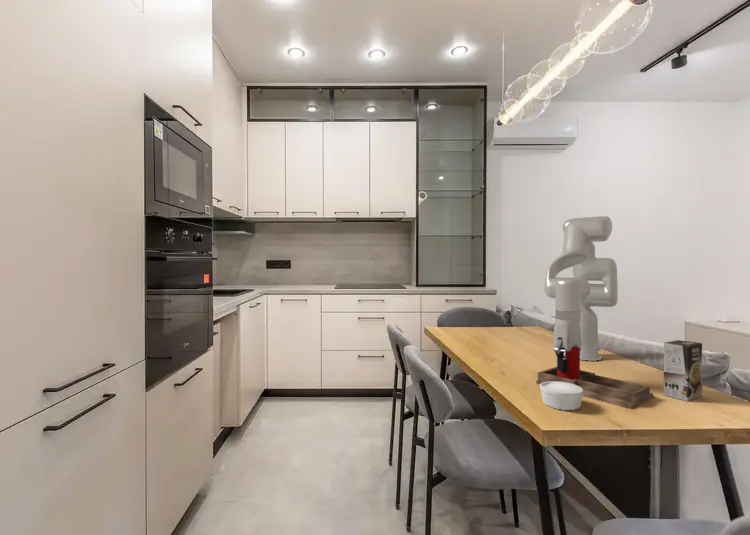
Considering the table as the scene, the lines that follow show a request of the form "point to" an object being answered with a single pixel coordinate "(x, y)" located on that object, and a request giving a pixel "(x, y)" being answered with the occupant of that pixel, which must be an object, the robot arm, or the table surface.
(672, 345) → the coffee box
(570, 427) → the table surface
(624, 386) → the brown wooden tray
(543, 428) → the table surface
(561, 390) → the ramekin
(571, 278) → the robot arm
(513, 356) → the table surface
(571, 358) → the beverage can
